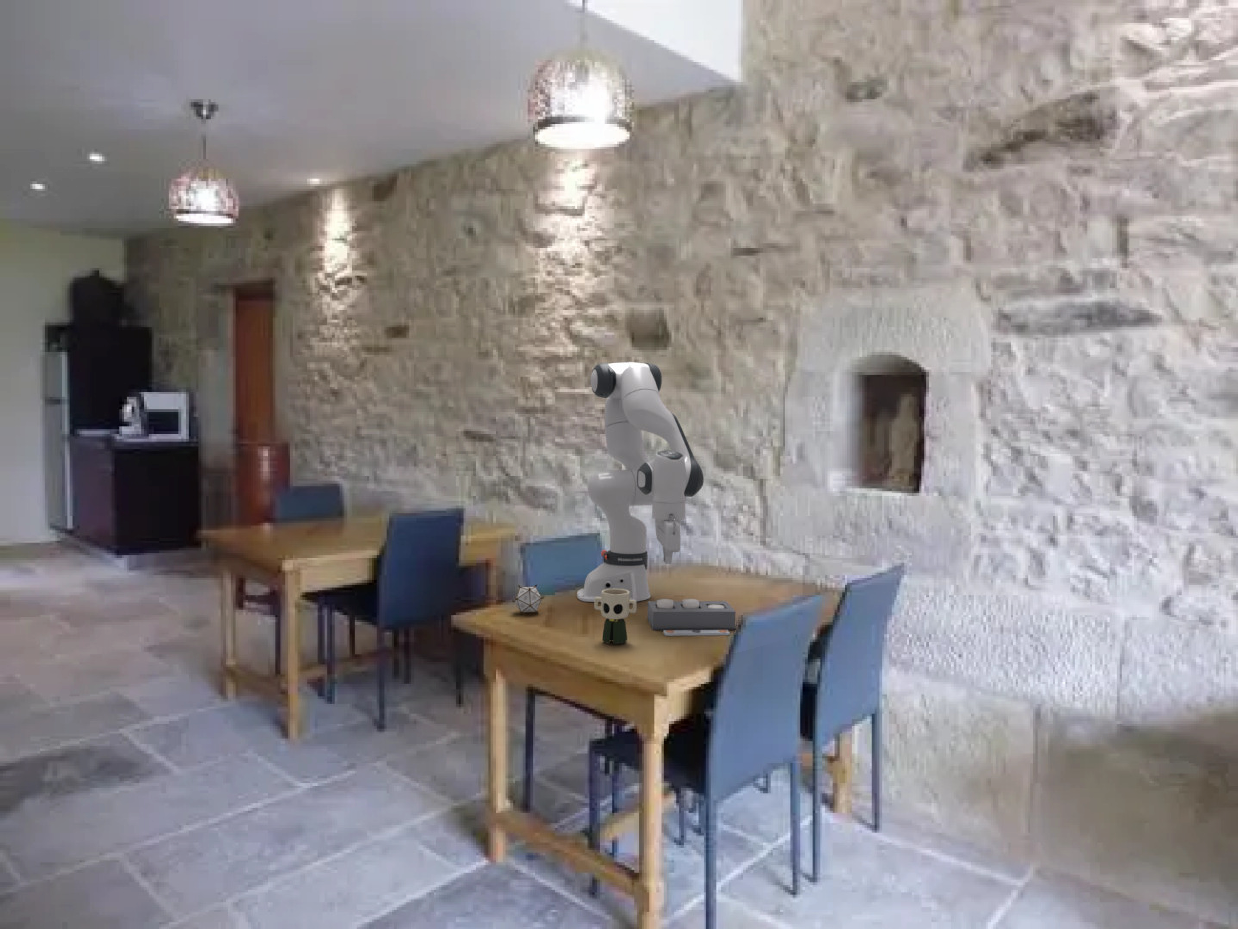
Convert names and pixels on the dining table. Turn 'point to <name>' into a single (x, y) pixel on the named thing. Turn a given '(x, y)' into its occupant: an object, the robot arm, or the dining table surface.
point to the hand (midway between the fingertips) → (667, 562)
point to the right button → (715, 606)
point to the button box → (692, 617)
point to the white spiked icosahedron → (528, 599)
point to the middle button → (690, 603)
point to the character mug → (615, 613)
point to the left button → (664, 604)
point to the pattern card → (695, 632)
